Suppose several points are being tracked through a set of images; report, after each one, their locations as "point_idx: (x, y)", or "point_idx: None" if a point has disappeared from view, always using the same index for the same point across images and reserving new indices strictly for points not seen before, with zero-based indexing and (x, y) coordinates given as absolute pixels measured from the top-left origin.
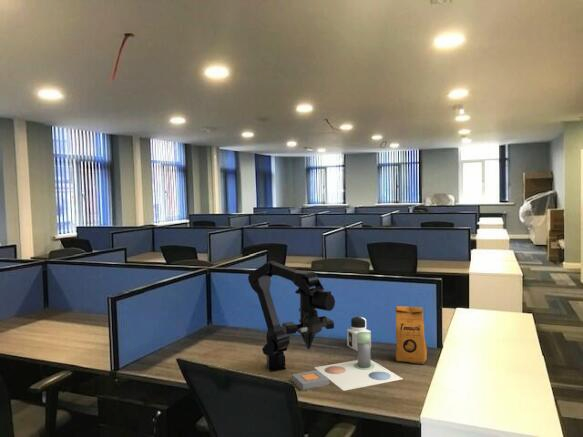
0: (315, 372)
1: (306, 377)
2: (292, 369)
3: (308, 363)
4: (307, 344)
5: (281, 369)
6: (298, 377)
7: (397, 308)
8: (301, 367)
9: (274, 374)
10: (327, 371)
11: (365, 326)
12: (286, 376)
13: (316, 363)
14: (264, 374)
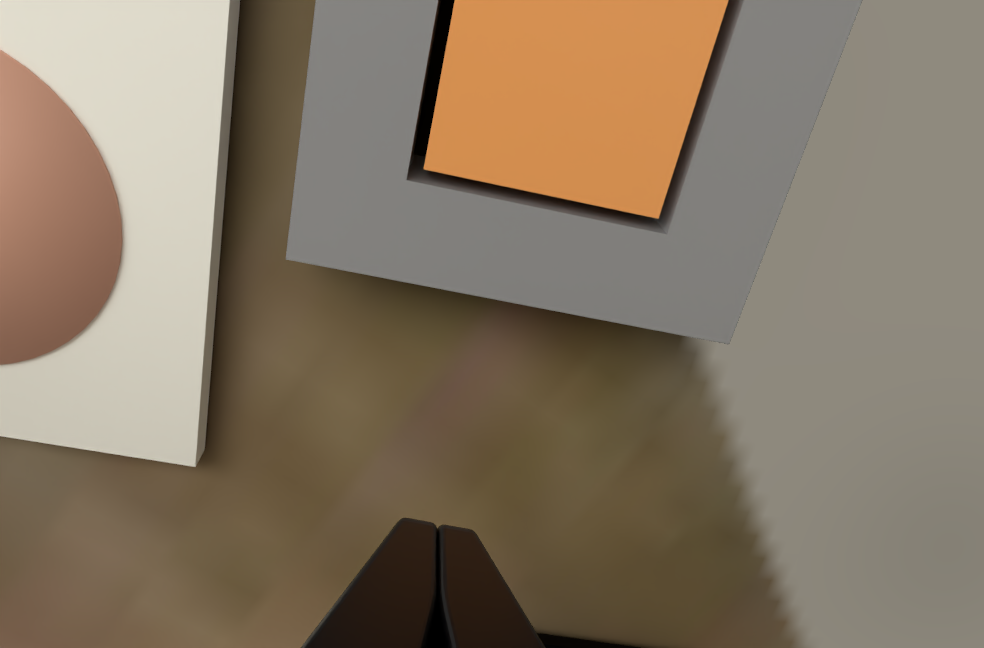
0: (373, 183)
1: (646, 87)
2: None
3: (166, 633)
4: (521, 638)
5: (571, 640)
6: (746, 176)
7: None
8: (314, 584)
9: (712, 583)
10: (90, 229)
11: None
12: (645, 466)
13: (70, 586)
14: (795, 636)
